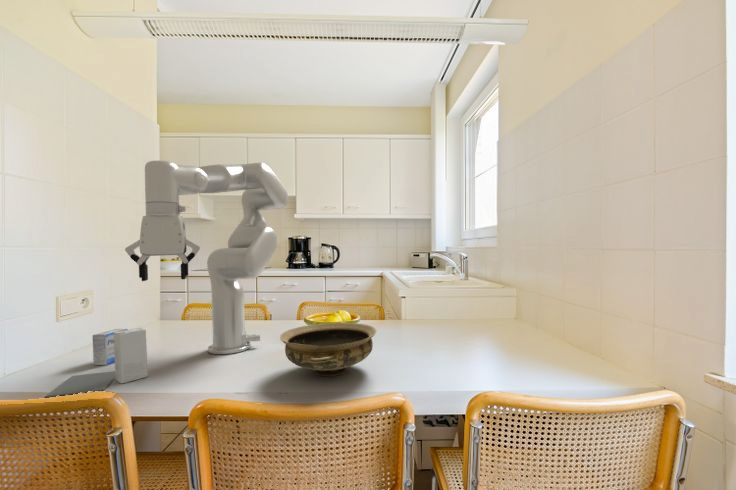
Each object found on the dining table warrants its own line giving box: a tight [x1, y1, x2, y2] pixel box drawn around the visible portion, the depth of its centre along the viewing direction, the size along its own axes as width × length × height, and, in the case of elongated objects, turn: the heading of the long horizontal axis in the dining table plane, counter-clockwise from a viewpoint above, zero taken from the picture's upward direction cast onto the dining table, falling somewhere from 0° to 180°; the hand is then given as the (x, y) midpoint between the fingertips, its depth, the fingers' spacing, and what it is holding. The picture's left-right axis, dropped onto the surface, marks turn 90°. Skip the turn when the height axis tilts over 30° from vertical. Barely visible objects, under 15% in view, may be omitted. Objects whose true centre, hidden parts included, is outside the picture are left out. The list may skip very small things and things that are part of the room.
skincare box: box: [114, 327, 149, 384], centre depth 95 cm, size 6×4×12 cm
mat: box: [44, 370, 116, 398], centre depth 92 cm, size 11×14×1 cm
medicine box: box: [91, 328, 129, 366], centre depth 111 cm, size 8×4×9 cm, turn 168°
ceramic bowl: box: [279, 322, 377, 377], centre depth 97 cm, size 30×24×10 cm
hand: (164, 279), depth 97 cm, fingers open, 8 cm apart
